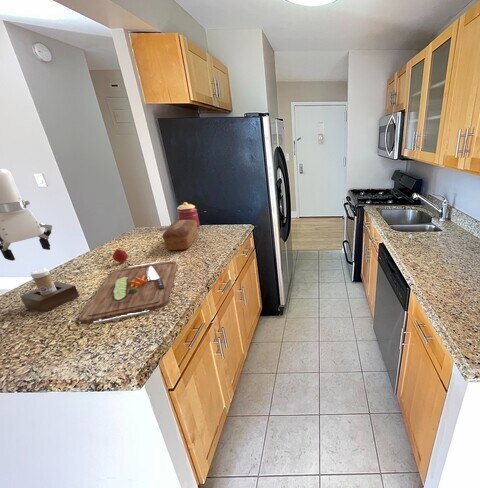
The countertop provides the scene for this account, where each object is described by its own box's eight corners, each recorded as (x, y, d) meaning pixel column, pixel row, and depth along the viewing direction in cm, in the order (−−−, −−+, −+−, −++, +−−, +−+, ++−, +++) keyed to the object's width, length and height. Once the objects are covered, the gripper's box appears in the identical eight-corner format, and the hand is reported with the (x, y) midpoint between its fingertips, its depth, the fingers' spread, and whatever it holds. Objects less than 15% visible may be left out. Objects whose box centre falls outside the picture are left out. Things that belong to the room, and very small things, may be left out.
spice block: (25, 307, 97) (19, 296, 95) (61, 291, 106) (56, 281, 105) (45, 312, 94) (39, 301, 92) (79, 296, 103) (74, 285, 102)
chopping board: (115, 270, 124) (113, 264, 123) (178, 260, 133) (177, 255, 132) (73, 329, 85) (69, 321, 84) (165, 310, 95) (163, 303, 94)
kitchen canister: (204, 224, 189) (199, 201, 182) (189, 230, 178) (183, 205, 171) (191, 222, 194) (186, 199, 187) (175, 227, 183) (170, 203, 176)
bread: (201, 234, 171) (198, 216, 166) (190, 250, 145) (185, 230, 140) (178, 235, 168) (174, 217, 163) (163, 253, 142) (157, 232, 138)
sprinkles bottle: (43, 306, 97) (28, 275, 92) (46, 300, 101) (31, 270, 95) (60, 302, 100) (46, 271, 94) (62, 297, 103) (49, 266, 98)
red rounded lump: (128, 259, 135) (123, 245, 132) (130, 262, 131) (125, 248, 128) (114, 262, 131) (109, 248, 128) (116, 266, 128) (111, 251, 125)
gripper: (34, 201, 95) (52, 244, 101) (-39, 212, 79) (-12, 263, 86) (48, 202, 93) (65, 246, 99) (-24, 215, 77) (2, 266, 84)
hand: (29, 254), depth 92 cm, fingers open, 9 cm apart
